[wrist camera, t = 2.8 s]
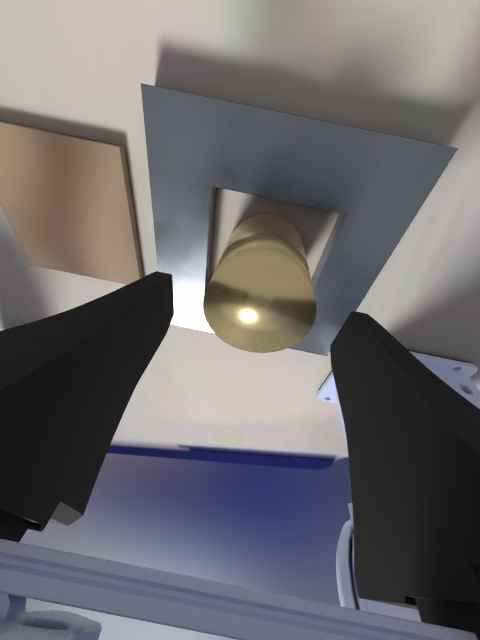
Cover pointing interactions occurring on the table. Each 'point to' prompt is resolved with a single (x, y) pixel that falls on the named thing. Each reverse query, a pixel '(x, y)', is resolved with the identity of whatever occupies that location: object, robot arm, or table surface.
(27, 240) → the tan pad
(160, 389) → the table surface
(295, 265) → the end cap
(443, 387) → the robot arm
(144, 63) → the table surface
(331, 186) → the socket block
